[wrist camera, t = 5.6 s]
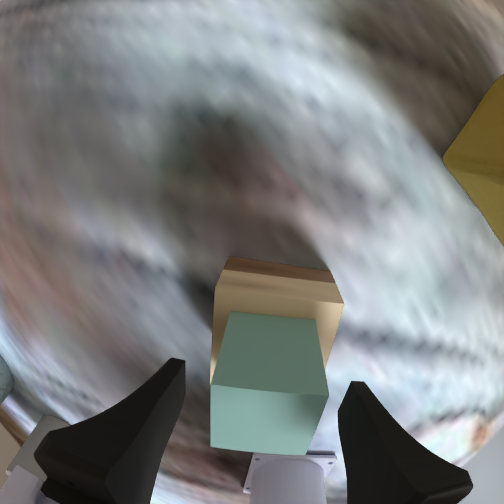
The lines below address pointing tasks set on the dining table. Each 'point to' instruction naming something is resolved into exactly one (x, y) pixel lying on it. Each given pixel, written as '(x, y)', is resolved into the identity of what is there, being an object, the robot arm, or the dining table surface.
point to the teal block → (268, 385)
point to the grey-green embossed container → (5, 380)
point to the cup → (35, 446)
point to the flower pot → (483, 157)
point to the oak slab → (276, 304)
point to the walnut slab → (277, 270)
